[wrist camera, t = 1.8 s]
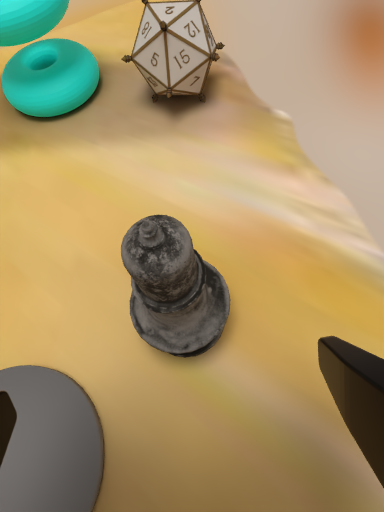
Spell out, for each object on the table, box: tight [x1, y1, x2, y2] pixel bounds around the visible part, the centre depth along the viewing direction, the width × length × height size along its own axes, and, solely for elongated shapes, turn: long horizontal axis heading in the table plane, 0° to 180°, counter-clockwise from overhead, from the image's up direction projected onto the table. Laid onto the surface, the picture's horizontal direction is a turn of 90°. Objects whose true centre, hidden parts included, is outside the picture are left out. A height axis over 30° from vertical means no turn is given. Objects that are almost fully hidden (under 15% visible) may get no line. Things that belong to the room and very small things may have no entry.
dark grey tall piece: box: [121, 215, 230, 357], centre depth 16 cm, size 6×6×12 cm
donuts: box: [0, 0, 99, 117], centre depth 29 cm, size 10×10×10 cm
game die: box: [121, 0, 225, 102], centre depth 28 cm, size 9×8×10 cm
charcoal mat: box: [0, 365, 104, 512], centre depth 18 cm, size 11×11×1 cm
